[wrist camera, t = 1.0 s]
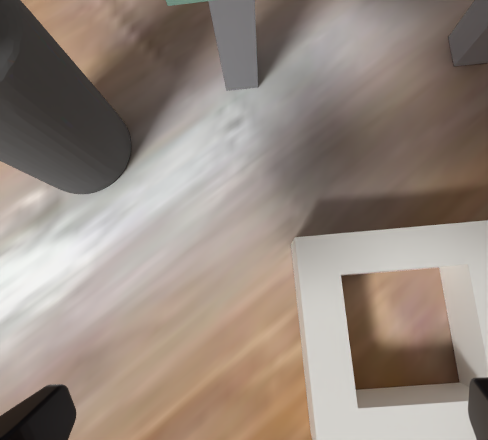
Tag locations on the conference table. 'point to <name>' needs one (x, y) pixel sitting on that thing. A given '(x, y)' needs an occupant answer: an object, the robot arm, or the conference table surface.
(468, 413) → the robot arm
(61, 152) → the bottle
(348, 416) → the socket block
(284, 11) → the conference table surface
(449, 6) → the conference table surface
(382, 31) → the conference table surface
